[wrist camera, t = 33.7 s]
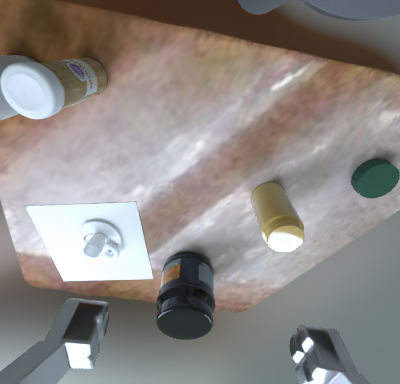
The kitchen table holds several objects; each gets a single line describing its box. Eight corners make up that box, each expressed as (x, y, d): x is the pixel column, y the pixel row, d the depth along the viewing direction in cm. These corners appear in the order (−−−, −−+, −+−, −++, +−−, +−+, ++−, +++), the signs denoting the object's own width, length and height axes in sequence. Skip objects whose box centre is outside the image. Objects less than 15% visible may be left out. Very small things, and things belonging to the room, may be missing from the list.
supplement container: (153, 266, 50) (139, 322, 40) (190, 242, 47) (186, 297, 36) (187, 291, 54) (183, 348, 44) (223, 270, 51) (228, 327, 40)
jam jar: (256, 179, 40) (271, 219, 30) (290, 185, 40) (315, 226, 31) (246, 208, 42) (258, 252, 33) (278, 213, 43) (298, 257, 34)
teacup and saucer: (126, 253, 49) (120, 269, 45) (87, 254, 49) (78, 270, 45) (116, 218, 44) (108, 233, 41) (73, 220, 44) (62, 235, 41)
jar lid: (368, 198, 41) (375, 204, 39) (342, 182, 39) (348, 187, 38) (399, 170, 38) (408, 175, 37) (373, 151, 37) (381, 156, 35)
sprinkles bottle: (114, 73, 32) (62, 88, 20) (98, 102, 34) (43, 130, 22) (81, 48, 30) (5, 49, 19) (67, 79, 32) (-10, 98, 21)
